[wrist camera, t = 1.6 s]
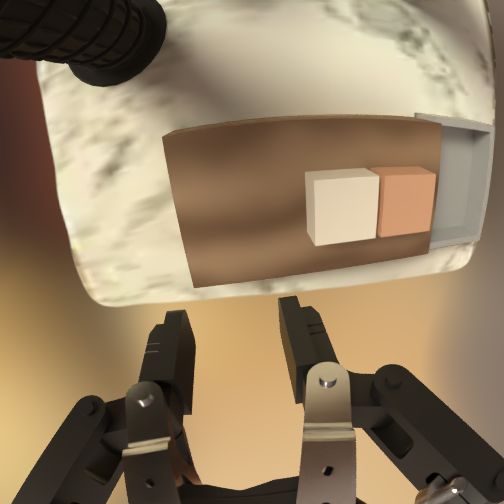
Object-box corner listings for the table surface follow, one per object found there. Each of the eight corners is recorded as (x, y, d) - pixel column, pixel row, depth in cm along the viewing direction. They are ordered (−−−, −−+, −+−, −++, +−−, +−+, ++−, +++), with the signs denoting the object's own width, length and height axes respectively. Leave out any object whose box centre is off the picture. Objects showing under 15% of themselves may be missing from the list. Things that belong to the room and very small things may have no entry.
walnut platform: (173, 130, 24) (162, 137, 19) (411, 117, 24) (441, 123, 20) (198, 259, 30) (194, 288, 26) (404, 232, 30) (428, 253, 26)
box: (414, 112, 24) (434, 116, 21) (474, 120, 24) (494, 126, 21) (407, 236, 31) (422, 250, 28) (463, 228, 31) (479, 240, 28)
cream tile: (304, 171, 21) (313, 180, 19) (364, 167, 22) (379, 176, 19) (307, 231, 24) (315, 246, 22) (362, 225, 24) (375, 238, 22)
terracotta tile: (370, 167, 22) (385, 175, 19) (419, 166, 22) (436, 174, 19) (368, 224, 24) (380, 237, 22) (414, 219, 24) (429, 230, 22)
